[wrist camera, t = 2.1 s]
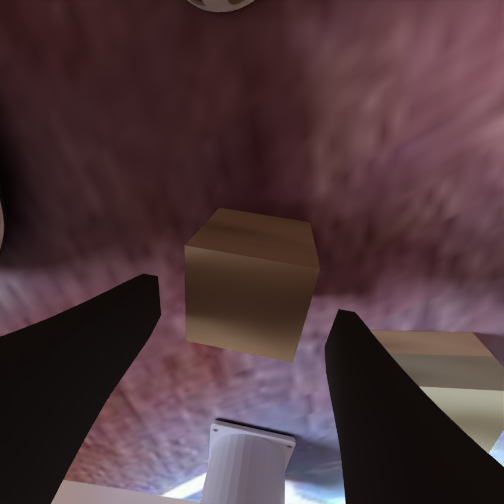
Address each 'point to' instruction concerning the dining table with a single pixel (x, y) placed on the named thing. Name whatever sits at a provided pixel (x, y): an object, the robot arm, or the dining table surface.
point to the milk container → (2, 220)
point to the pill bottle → (220, 4)
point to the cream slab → (454, 377)
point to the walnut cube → (250, 282)
